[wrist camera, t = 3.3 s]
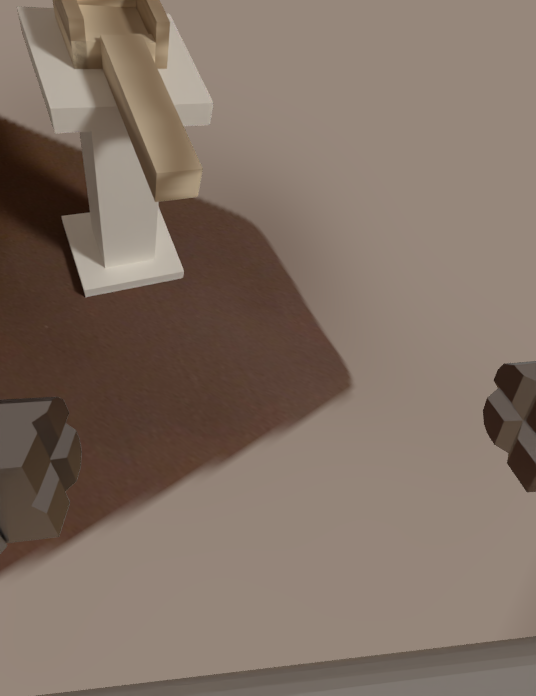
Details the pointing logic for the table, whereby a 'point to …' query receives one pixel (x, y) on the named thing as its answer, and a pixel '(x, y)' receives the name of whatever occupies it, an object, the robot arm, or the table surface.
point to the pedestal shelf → (111, 159)
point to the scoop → (135, 83)
